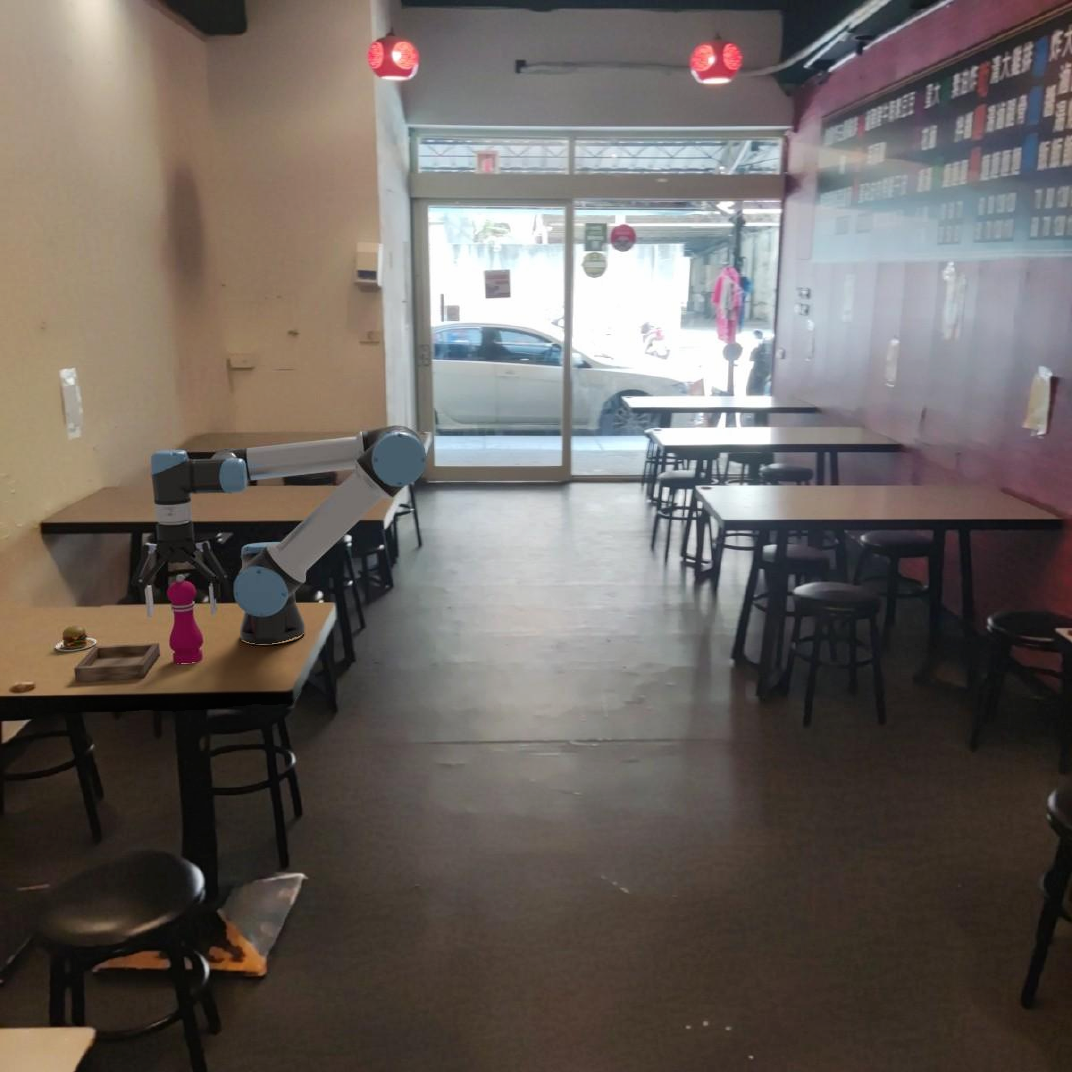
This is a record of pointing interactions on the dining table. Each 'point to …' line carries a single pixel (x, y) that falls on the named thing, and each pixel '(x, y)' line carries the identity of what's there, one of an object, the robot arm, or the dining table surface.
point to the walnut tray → (117, 662)
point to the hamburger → (75, 639)
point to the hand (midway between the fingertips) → (182, 614)
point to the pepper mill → (184, 623)
